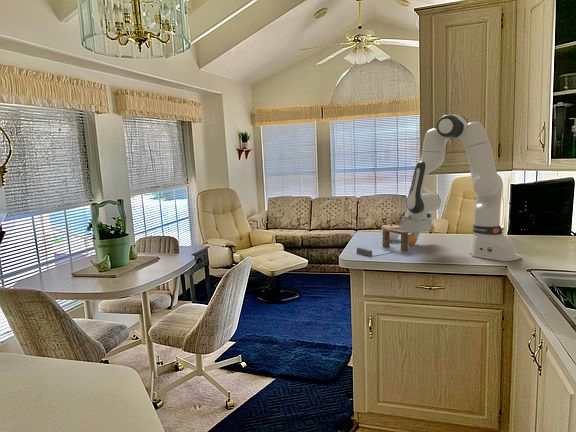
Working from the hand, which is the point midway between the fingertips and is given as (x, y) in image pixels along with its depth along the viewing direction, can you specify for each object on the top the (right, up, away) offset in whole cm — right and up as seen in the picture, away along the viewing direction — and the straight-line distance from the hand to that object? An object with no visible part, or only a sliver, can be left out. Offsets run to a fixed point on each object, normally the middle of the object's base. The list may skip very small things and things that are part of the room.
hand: (415, 240), depth 236 cm
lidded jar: (-10, -1, +14) cm, 17 cm away
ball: (-3, 0, -3) cm, 4 cm away
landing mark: (-25, -5, -16) cm, 30 cm away
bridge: (-13, -4, -9) cm, 16 cm away
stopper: (-31, -6, -20) cm, 37 cm away
